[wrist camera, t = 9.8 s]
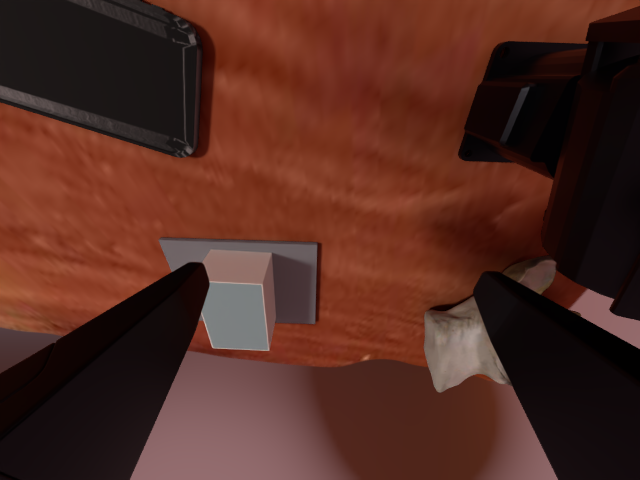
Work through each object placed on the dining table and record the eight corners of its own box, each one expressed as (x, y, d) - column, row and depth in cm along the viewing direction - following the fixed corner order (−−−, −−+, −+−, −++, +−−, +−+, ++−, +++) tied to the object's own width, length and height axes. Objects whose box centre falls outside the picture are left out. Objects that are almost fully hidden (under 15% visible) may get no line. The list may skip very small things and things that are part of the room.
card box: (276, 317, 27) (269, 350, 24) (226, 314, 27) (212, 348, 24) (271, 252, 22) (262, 284, 19) (210, 249, 22) (190, 280, 19)
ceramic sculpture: (421, 387, 19) (658, 302, 14) (389, 302, 26) (539, 229, 22) (464, 431, 23) (650, 377, 19) (426, 349, 31) (555, 296, 26)
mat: (317, 242, 22) (317, 244, 21) (315, 320, 28) (314, 323, 28) (161, 237, 22) (158, 239, 21) (193, 317, 28) (191, 320, 28)
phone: (193, 162, 17) (-64, 82, 15) (199, 157, 18) (-41, 82, 16) (198, 21, 13) (-162, -125, 10) (206, 25, 14) (-122, -108, 11)
